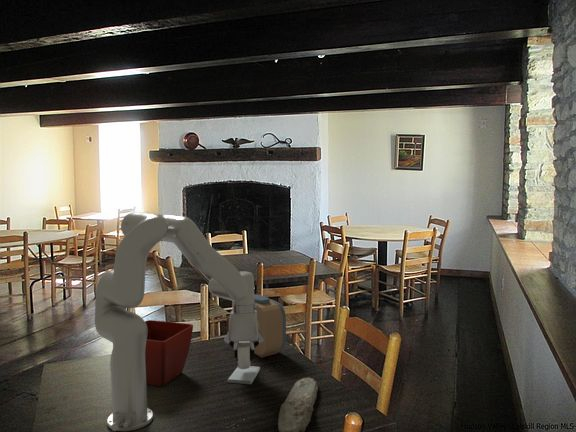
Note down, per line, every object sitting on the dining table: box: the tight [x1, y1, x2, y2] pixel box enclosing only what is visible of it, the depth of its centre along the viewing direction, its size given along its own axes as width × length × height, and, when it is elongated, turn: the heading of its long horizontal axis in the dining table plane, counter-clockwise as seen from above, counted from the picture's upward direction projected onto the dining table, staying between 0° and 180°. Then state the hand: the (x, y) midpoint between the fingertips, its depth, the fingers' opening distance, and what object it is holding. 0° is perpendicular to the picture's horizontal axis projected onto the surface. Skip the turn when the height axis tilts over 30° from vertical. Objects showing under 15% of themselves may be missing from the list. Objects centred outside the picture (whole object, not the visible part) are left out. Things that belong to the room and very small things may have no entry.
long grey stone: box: [277, 376, 319, 432], centre depth 153 cm, size 35×5×10 cm
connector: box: [237, 341, 252, 369], centre depth 177 cm, size 11×4×7 cm, turn 0°
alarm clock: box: [254, 293, 287, 358], centre depth 199 cm, size 21×10×22 cm, turn 37°
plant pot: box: [144, 319, 194, 387], centre depth 175 cm, size 19×19×17 cm
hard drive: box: [227, 365, 261, 385], centre depth 177 cm, size 2×8×12 cm
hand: (244, 359), depth 177 cm, fingers closed on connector, 4 cm apart
